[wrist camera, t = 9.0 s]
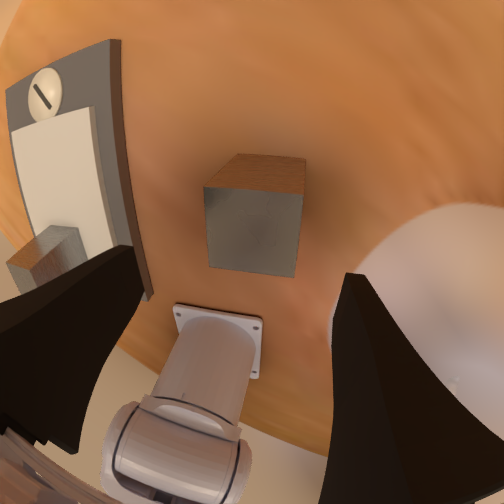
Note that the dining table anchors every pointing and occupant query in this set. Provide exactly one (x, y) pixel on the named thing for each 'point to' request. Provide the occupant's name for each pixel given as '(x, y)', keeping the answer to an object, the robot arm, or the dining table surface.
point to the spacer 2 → (255, 214)
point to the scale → (76, 151)
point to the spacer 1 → (47, 257)
